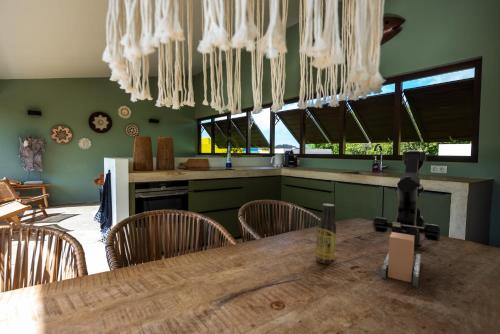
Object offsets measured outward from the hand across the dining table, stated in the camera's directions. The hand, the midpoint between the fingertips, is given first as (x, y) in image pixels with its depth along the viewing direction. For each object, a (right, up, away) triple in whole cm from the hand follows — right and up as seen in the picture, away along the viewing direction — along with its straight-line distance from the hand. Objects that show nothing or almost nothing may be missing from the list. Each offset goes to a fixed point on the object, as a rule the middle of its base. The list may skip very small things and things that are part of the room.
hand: (402, 252), depth 85 cm
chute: (0, -7, +1) cm, 7 cm away
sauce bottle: (-21, -6, +10) cm, 24 cm away
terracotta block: (-3, -6, -3) cm, 7 cm away
